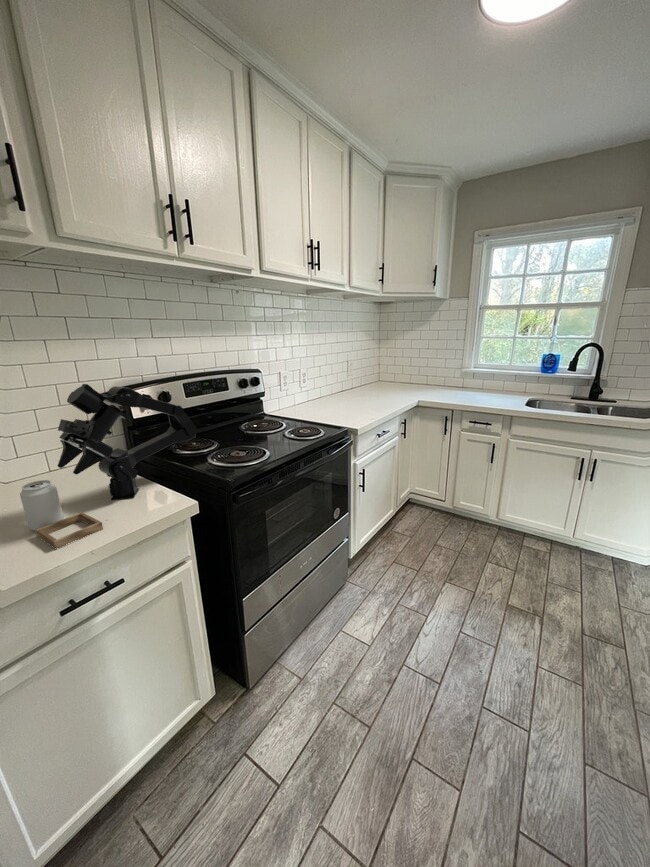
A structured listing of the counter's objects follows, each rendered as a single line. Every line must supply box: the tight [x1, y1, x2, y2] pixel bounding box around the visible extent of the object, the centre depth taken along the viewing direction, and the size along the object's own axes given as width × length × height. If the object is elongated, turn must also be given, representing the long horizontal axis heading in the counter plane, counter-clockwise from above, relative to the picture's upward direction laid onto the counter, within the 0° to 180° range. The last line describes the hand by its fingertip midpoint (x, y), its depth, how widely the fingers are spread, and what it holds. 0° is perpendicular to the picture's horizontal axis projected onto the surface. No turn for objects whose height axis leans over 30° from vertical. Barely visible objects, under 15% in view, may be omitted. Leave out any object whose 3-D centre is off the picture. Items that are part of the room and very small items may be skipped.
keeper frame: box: [35, 512, 104, 550], centre depth 90 cm, size 11×11×2 cm
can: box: [19, 479, 65, 532], centre depth 92 cm, size 8×8×12 cm
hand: (66, 470), depth 96 cm, fingers open, 9 cm apart
